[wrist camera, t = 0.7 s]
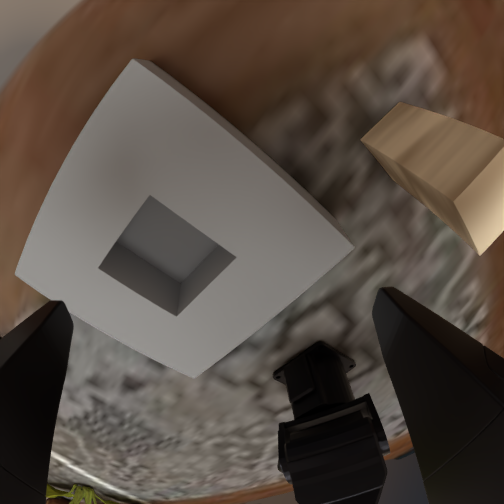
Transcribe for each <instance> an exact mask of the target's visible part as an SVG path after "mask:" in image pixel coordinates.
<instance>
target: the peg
mask: <svg viewBox="0 0 504 504" xmlns="http://www.w3.org/2000/svg"><path fill="white" fill-rule="evenodd" d="M360 140H361V141H362V143H363V144H364V145H365V146H366V147H367V149H368V150H369V151H370V152H371V153H372V155H373V156H374V157H375V158H376V160H377V161H378V162H379V163H380V165H381V166H382V167H383V168H384V170H385V171H386V172H387V173H388V175H389V176H390V177H391V179H392V180H393V181H395V182H396V183H397V184H399V185H400V186H401V187H402V188H404V189H405V190H406V191H407V192H409V193H410V194H411V195H412V196H414V197H415V198H416V199H417V200H419V201H420V202H421V203H422V204H423V205H425V206H426V207H427V208H428V209H429V210H430V211H432V212H433V213H434V214H435V215H436V216H437V217H439V218H440V219H441V220H442V221H443V222H444V223H445V224H447V225H448V226H449V227H450V228H451V229H452V230H453V231H454V232H455V233H457V234H458V235H459V236H460V237H461V238H462V239H463V240H464V241H465V242H466V243H467V244H468V245H469V246H470V247H471V248H472V249H473V250H475V251H476V252H477V253H478V254H479V255H481V254H482V253H483V252H484V251H485V250H486V249H487V248H488V247H489V246H490V245H491V244H492V243H493V242H494V240H495V239H496V238H497V237H498V236H499V235H500V234H501V233H502V232H503V231H504V139H502V138H500V137H498V136H495V135H493V134H491V133H488V132H486V131H484V130H481V129H479V128H476V127H474V126H471V125H468V124H466V123H463V122H461V121H458V120H455V119H452V118H449V117H447V116H444V115H441V114H438V113H435V112H432V111H429V110H425V109H422V108H419V107H416V106H412V105H409V104H405V103H402V102H399V103H398V104H397V105H396V106H395V107H394V108H393V109H392V110H390V111H389V112H388V113H387V114H386V115H385V116H384V117H383V118H382V119H381V120H380V121H379V122H378V123H377V124H376V125H375V126H374V127H373V128H372V129H371V130H370V131H369V132H368V133H367V134H366V135H364V136H363V137H362V138H361V139H360Z"/></svg>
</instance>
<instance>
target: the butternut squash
mask: <svg viewBox="0 0 504 504" xmlns="http://www.w3.org/2000/svg"><path fill="white" fill-rule="evenodd" d="M69 503H70V502H69V501H68V500H66V499H64V498H62V497H58V498H57V497H55V498H48V499H47V500H46V504H69Z"/></svg>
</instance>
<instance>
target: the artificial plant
mask: <svg viewBox="0 0 504 504" xmlns="http://www.w3.org/2000/svg"><path fill="white" fill-rule="evenodd" d="M76 487H77V484H74V485H73V487H72V489H71V491H70V492H65V491H61V490H57V489H55V488H54V487H52V486H50V485H49V484H47V491H46V497H48V498H55V497H58V496H66V497H73V499H72V500H71V502H70V503H69V504H73V503H74V504H79V503H80V501H81V500H82V498H83V497H84V498H85V502H86V504H91V501H92V498H93V501H94V504H97V503H96V498H95V496H96V497H97V498H98V499H100V500H101V501H102V502H104V503H105V504H119V503H116V502H113V501H110V500H102V499H101V498H100V497H98V496H97V495H96V494H95V493H94V490H93V489H91V488H90V487H88V486H87V487H86V486H83V487H81V486H78V487H77V488H76ZM75 488H76V491H75V494H74V495H73V494H71V493H72V492H73V491H74V489H75ZM81 489H83V490H81ZM74 501H75V502H74Z"/></svg>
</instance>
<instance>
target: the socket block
mask: <svg viewBox="0 0 504 504" xmlns="http://www.w3.org/2000/svg"><path fill="white" fill-rule="evenodd" d="M354 248H355V247H354V245H353V244H352V242H351V241H350V239H349V238H348V236H347V235H346V233H345V232H344V231H343V229H342V228H341V226H340V225H339V223H338V222H337V220H336V219H335V218H334V217H333V216H332V215H331V214H330V213H329V212H328V211H327V210H326V209H325V208H324V207H323V206H322V205H321V204H320V203H319V202H318V201H317V200H316V199H315V198H314V197H313V196H312V195H311V194H310V193H309V192H307V191H306V190H305V189H304V188H303V187H302V186H301V185H300V184H299V183H298V182H297V181H296V180H295V179H294V178H292V177H291V176H290V175H289V174H288V173H287V172H286V171H285V170H284V169H283V168H282V167H280V166H279V165H278V164H277V163H276V162H275V161H274V160H273V159H271V158H270V157H269V156H268V155H267V154H266V153H265V152H264V151H262V150H261V149H260V148H259V147H258V146H257V145H256V144H254V143H253V142H252V141H251V140H250V139H249V138H247V137H246V136H245V135H244V134H243V133H242V132H240V131H239V130H238V129H237V128H236V127H235V126H233V125H232V124H231V123H230V122H229V121H227V120H226V119H225V118H224V117H222V116H221V115H220V114H219V113H218V112H216V111H215V110H214V109H213V108H211V107H210V106H209V105H208V104H206V103H205V102H204V101H203V100H201V99H200V98H199V97H198V96H196V95H195V94H194V93H193V92H191V91H190V90H189V89H187V88H186V87H185V86H184V85H182V84H181V83H180V82H178V81H177V80H176V79H174V78H173V77H172V76H170V75H169V74H168V73H166V72H165V71H164V70H162V69H161V68H160V67H158V66H157V65H156V64H154V63H153V62H151V61H149V60H141V59H132V60H131V61H130V62H129V64H128V65H127V66H126V68H125V69H124V70H123V71H122V73H121V74H120V75H119V77H118V78H117V79H116V81H115V82H114V83H113V85H112V86H111V88H110V89H109V90H108V92H107V93H106V95H105V96H104V98H103V99H102V100H101V102H100V103H99V105H98V106H97V108H96V109H95V111H94V112H93V114H92V115H91V117H90V119H89V120H88V122H87V123H86V125H85V126H84V128H83V130H82V131H81V133H80V135H79V136H78V138H77V140H76V141H75V143H74V145H73V146H72V148H71V150H70V152H69V153H68V155H67V157H66V159H65V161H64V162H63V164H62V166H61V168H60V170H59V172H58V174H57V176H56V178H55V180H54V181H53V183H52V185H51V187H50V190H49V192H48V194H47V196H46V198H45V200H44V202H43V204H42V206H41V209H40V211H39V213H38V215H37V218H36V220H35V222H34V224H33V227H32V229H31V232H30V234H29V237H28V239H27V242H26V244H25V247H24V249H23V252H22V255H21V257H20V260H19V263H18V266H17V269H16V272H15V275H16V276H17V277H19V278H20V279H21V280H23V281H24V282H26V283H27V284H28V285H30V286H31V287H33V288H34V289H35V290H37V291H38V292H40V293H41V294H43V295H44V296H46V297H47V298H49V299H50V300H62V301H63V302H64V303H65V304H66V307H67V309H68V311H69V312H70V313H72V314H73V315H75V316H77V317H78V318H80V319H81V320H83V321H85V322H86V323H88V324H90V325H91V326H93V327H95V328H96V329H98V330H100V331H102V332H103V333H105V334H107V335H109V336H110V337H112V338H114V339H116V340H117V341H119V342H121V343H123V344H125V345H127V346H128V347H130V348H132V349H134V350H136V351H138V352H140V353H142V354H144V355H146V356H147V357H149V358H151V359H153V360H155V361H157V362H159V363H161V364H164V365H166V366H168V367H170V368H172V369H174V370H176V371H178V372H180V373H182V374H185V375H187V376H189V377H191V378H193V379H194V378H196V377H197V376H199V375H200V374H201V373H203V372H204V371H205V370H207V369H208V368H209V367H211V366H212V365H213V364H215V363H216V362H217V361H219V360H220V359H221V358H222V357H224V356H225V355H226V354H228V353H229V352H230V351H232V350H233V349H234V348H235V347H237V346H238V345H239V344H241V343H242V342H243V341H244V340H246V339H247V338H248V337H250V336H251V335H252V334H253V333H255V332H256V331H257V330H258V329H260V328H261V327H262V326H263V325H265V324H266V323H267V322H268V321H270V320H271V319H272V318H273V317H274V316H276V315H277V314H278V313H279V312H281V311H282V310H283V309H284V308H285V307H287V306H288V305H289V304H290V303H291V302H293V301H294V300H295V299H296V298H297V297H299V296H300V295H301V294H302V293H303V292H305V291H306V290H307V289H308V288H309V287H311V286H312V285H313V284H314V283H315V282H316V281H318V280H319V279H320V278H321V277H322V276H323V275H324V274H326V273H327V272H328V271H329V270H330V269H331V268H333V267H334V266H335V265H336V264H337V263H338V262H339V261H341V260H342V259H343V258H344V257H345V256H346V255H347V254H348V253H350V252H351V251H352V250H353V249H354Z"/></svg>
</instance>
